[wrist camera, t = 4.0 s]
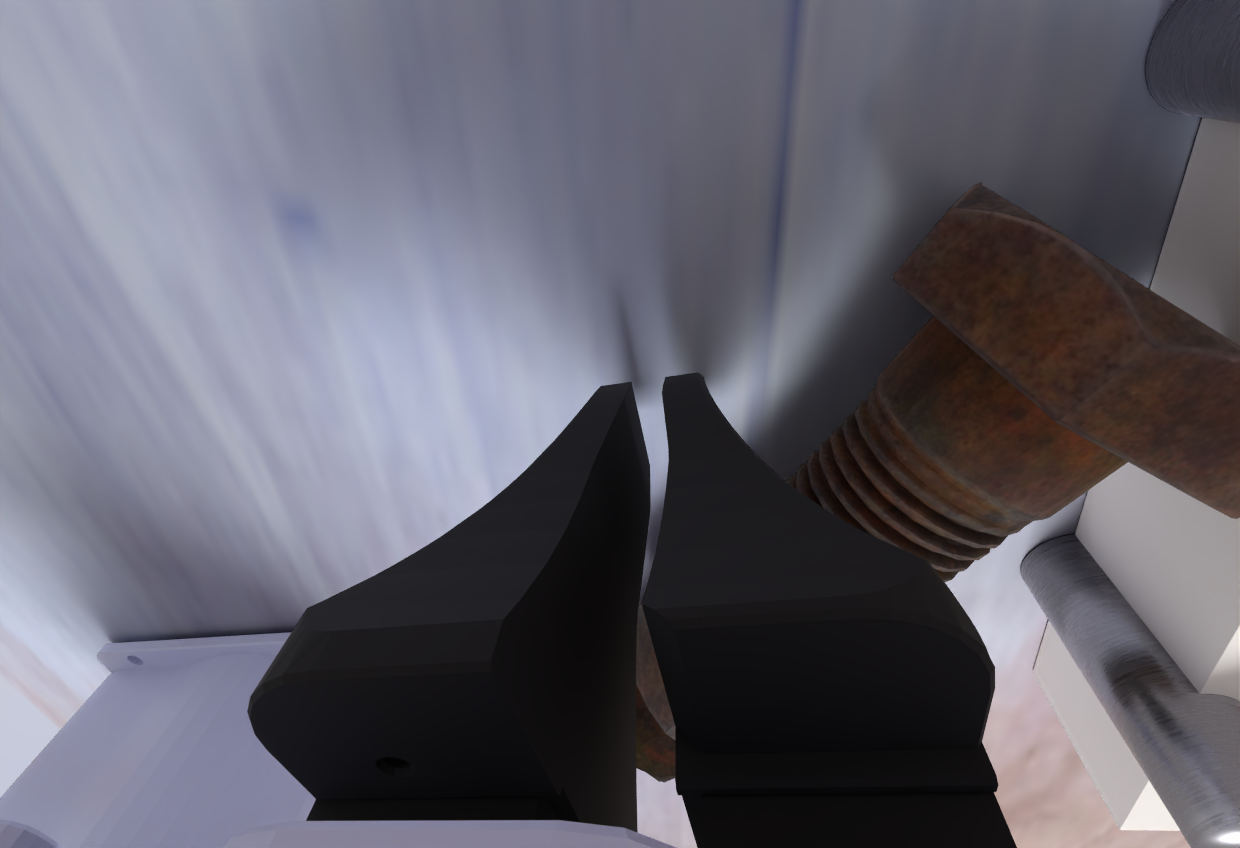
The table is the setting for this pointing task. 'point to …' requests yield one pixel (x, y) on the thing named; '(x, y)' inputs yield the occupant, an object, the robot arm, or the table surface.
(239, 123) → the table surface
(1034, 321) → the bolt
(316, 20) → the table surface
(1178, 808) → the bar
